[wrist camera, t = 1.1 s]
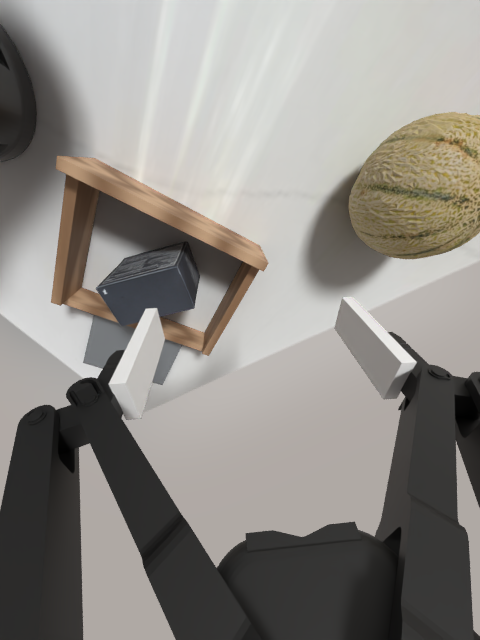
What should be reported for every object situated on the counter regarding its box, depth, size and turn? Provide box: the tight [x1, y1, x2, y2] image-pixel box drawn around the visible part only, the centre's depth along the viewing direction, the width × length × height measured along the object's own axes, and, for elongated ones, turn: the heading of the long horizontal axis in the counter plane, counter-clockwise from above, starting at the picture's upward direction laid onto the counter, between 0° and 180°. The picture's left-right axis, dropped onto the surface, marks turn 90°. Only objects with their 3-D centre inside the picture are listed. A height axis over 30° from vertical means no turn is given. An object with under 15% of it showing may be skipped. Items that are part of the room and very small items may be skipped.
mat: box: [83, 315, 182, 385], centre depth 46 cm, size 16×13×1 cm
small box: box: [96, 242, 200, 326], centre depth 33 cm, size 11×6×10 cm, turn 104°
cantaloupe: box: [348, 112, 480, 259], centre depth 27 cm, size 15×15×15 cm
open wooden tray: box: [51, 156, 268, 356], centre depth 34 cm, size 24×20×8 cm
